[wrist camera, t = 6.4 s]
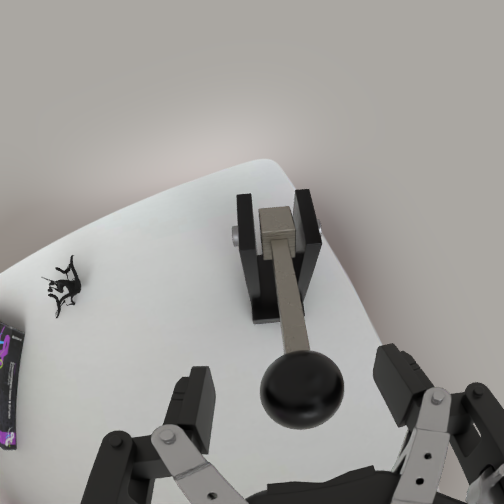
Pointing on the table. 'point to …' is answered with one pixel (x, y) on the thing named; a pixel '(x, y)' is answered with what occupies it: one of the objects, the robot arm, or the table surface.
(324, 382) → the lever
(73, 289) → the creature
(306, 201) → the black lever mount
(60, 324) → the table surface
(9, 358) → the box
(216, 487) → the robot arm
